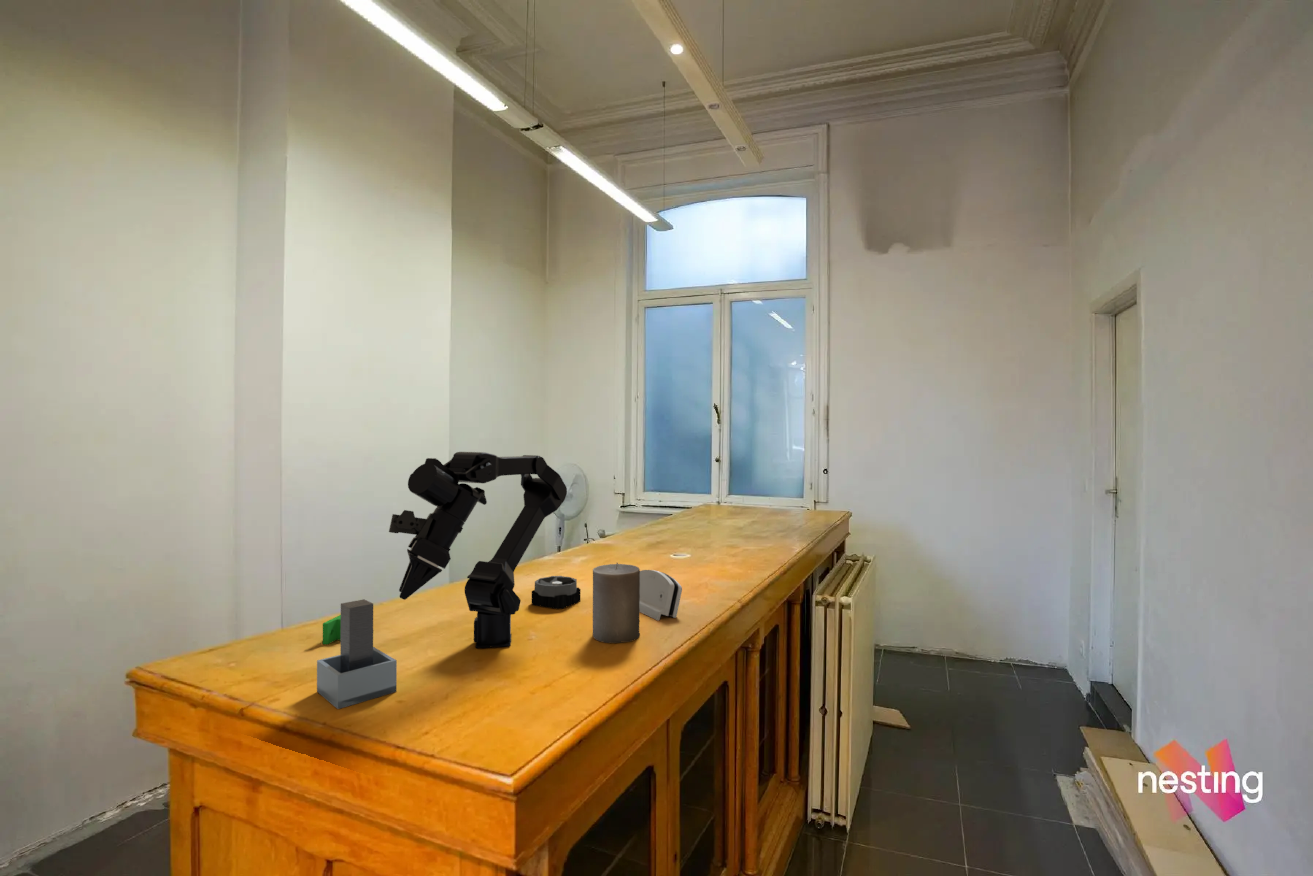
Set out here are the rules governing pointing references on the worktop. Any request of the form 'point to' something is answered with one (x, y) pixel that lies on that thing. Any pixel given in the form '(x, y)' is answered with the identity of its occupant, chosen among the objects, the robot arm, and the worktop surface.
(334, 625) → the pipe clamp
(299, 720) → the worktop surface
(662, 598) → the napkin holder
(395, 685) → the box
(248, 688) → the worktop surface
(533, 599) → the cpu cooler
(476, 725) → the worktop surface
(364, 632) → the dark square pedestal
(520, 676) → the worktop surface
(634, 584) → the pillar candle
